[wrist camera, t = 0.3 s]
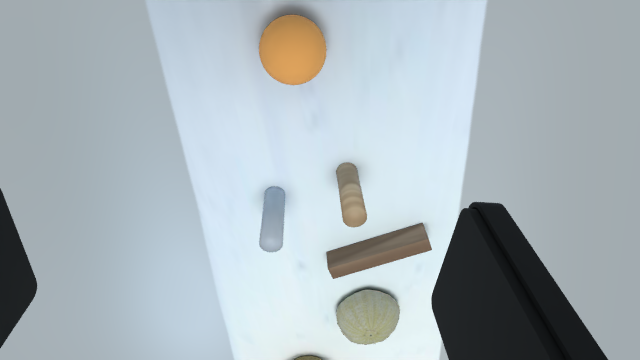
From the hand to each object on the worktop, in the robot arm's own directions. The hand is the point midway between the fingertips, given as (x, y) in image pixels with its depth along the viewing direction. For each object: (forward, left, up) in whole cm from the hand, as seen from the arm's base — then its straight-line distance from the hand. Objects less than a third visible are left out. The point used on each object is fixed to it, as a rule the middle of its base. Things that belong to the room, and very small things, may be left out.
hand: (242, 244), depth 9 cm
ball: (+5, +1, -31) cm, 31 cm away
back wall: (+32, +10, -34) cm, 47 cm away
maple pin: (+20, +6, -34) cm, 40 cm away
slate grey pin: (+23, -2, -34) cm, 41 cm away
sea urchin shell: (+44, +10, -34) cm, 57 cm away
